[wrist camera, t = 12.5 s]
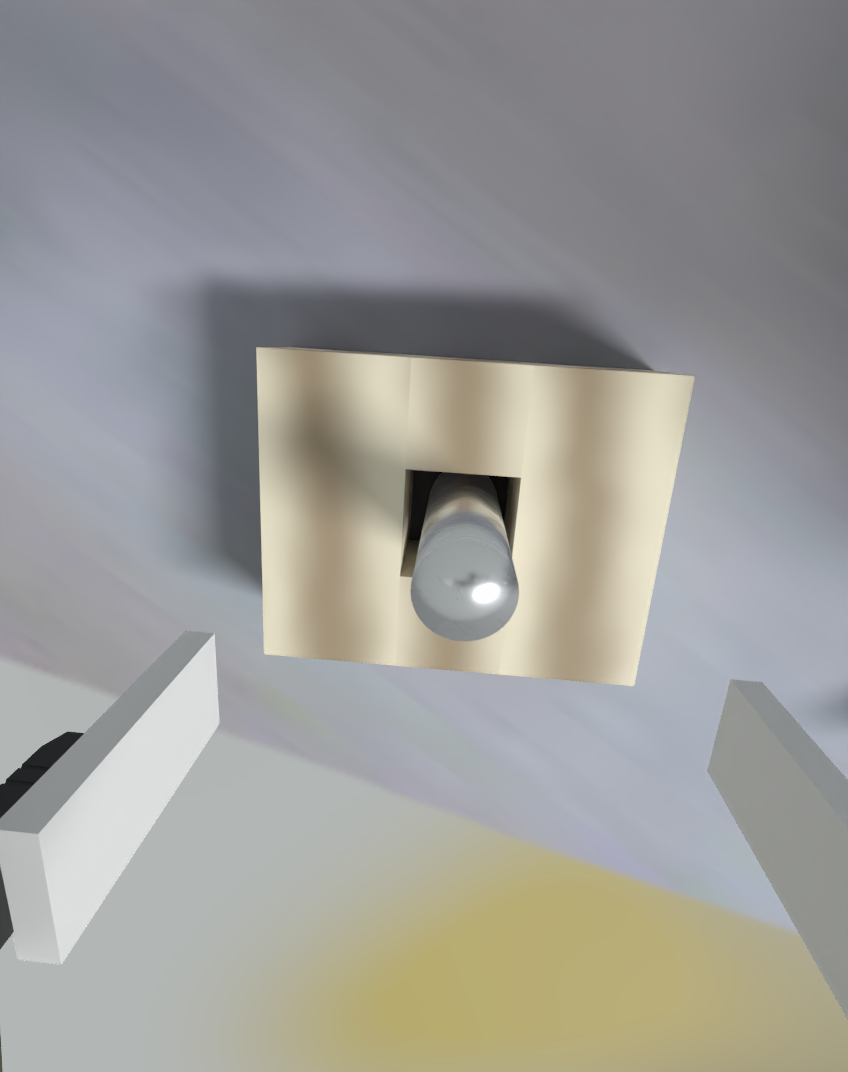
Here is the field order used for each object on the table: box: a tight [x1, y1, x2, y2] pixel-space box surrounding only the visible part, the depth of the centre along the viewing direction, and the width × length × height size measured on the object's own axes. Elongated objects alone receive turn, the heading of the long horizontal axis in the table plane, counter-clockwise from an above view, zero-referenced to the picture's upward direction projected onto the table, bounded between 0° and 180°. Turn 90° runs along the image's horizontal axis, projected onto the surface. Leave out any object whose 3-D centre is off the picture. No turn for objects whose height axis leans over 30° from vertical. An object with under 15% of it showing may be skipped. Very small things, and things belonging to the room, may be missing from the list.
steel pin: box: [411, 472, 519, 641], centre depth 28 cm, size 4×4×14 cm
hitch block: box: [256, 347, 695, 686], centre depth 32 cm, size 20×16×6 cm
